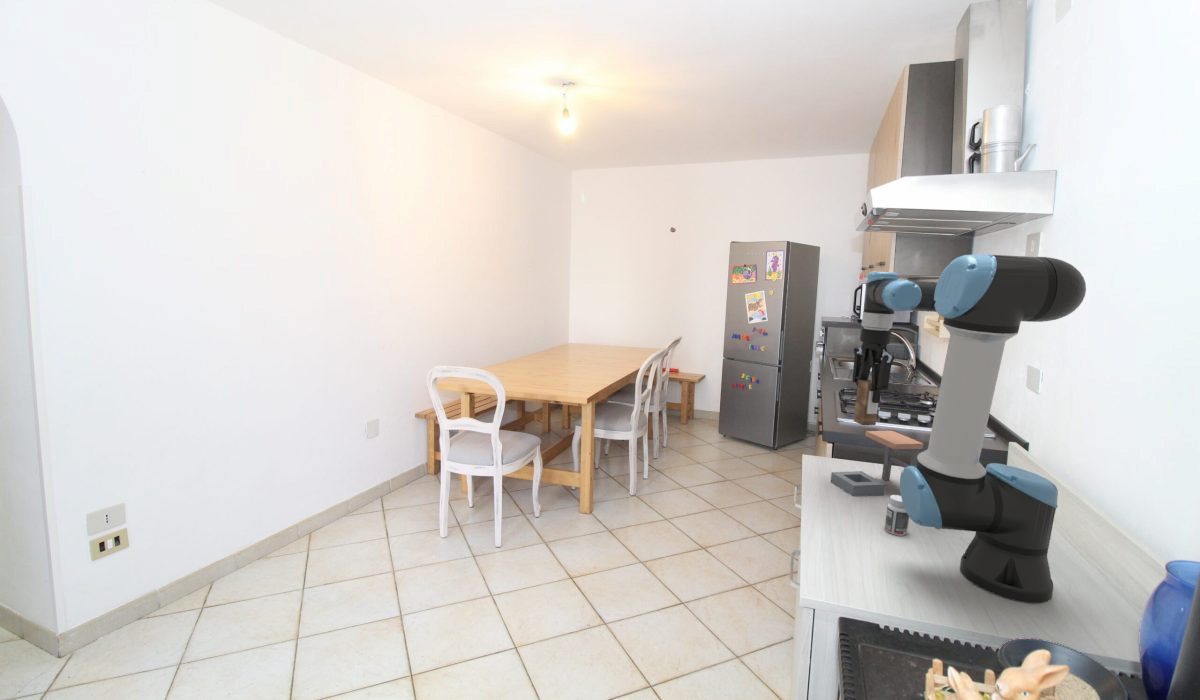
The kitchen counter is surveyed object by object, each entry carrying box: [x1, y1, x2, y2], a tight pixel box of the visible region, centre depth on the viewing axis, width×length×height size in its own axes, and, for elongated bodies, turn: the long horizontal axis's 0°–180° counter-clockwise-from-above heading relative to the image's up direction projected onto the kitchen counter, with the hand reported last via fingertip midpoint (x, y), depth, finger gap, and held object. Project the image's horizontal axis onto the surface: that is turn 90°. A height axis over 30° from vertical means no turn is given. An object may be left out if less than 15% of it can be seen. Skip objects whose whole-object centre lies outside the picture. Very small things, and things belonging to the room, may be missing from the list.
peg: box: [853, 379, 879, 426], centre depth 153 cm, size 4×4×12 cm
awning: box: [865, 430, 924, 482], centre depth 157 cm, size 12×9×15 cm
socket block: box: [830, 470, 886, 497], centre depth 156 cm, size 10×10×3 cm
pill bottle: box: [884, 494, 910, 537], centre depth 130 cm, size 5×5×8 cm
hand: (865, 411), depth 153 cm, fingers closed on peg, 4 cm apart
